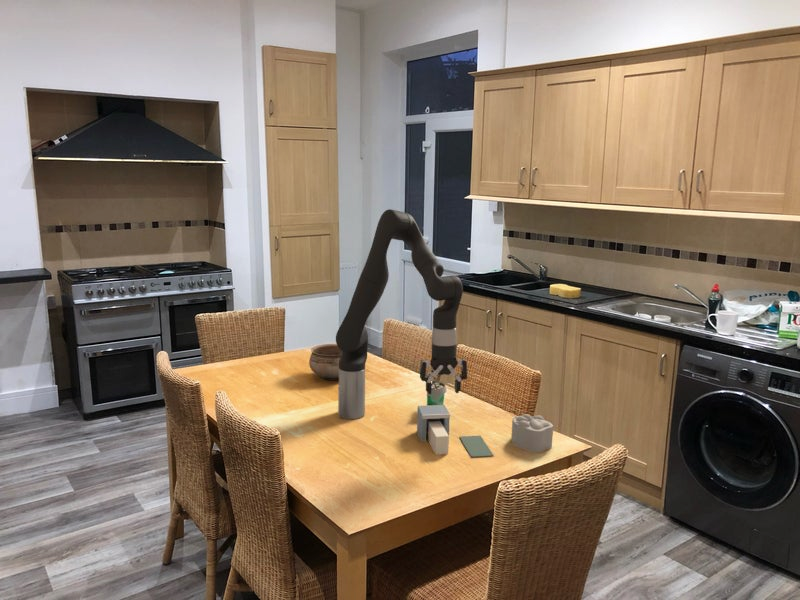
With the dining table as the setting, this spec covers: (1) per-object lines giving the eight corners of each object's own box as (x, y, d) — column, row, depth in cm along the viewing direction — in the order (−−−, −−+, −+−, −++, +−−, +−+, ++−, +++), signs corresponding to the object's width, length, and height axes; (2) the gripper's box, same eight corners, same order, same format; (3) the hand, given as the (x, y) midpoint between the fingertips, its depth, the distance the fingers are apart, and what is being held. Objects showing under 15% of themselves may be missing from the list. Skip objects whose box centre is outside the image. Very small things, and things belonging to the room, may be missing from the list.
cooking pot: (367, 381, 262) (368, 352, 260) (328, 390, 251) (328, 360, 248) (335, 366, 281) (335, 339, 279) (297, 374, 270) (297, 346, 268)
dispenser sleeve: (421, 441, 204) (422, 415, 203) (417, 431, 213) (417, 405, 211) (449, 440, 206) (450, 414, 204) (443, 430, 214) (444, 404, 212)
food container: (443, 418, 224) (444, 391, 222) (426, 417, 225) (426, 390, 223) (447, 406, 236) (448, 380, 234) (431, 404, 237) (432, 379, 235)
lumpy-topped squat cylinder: (535, 454, 197) (537, 428, 195) (503, 440, 207) (504, 415, 205) (556, 446, 204) (557, 420, 202) (524, 433, 213) (525, 408, 212)
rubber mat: (471, 457, 194) (471, 456, 194) (459, 437, 208) (459, 436, 208) (493, 456, 195) (493, 455, 195) (480, 436, 209) (480, 435, 209)
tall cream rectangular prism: (435, 455, 196) (435, 436, 194) (427, 439, 207) (428, 421, 206) (448, 454, 196) (449, 436, 195) (439, 438, 208) (440, 421, 207)
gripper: (423, 345, 188) (422, 398, 191) (470, 344, 190) (468, 396, 193) (418, 339, 195) (418, 390, 198) (464, 337, 197) (462, 388, 200)
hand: (443, 393), depth 195 cm, fingers open, 8 cm apart
